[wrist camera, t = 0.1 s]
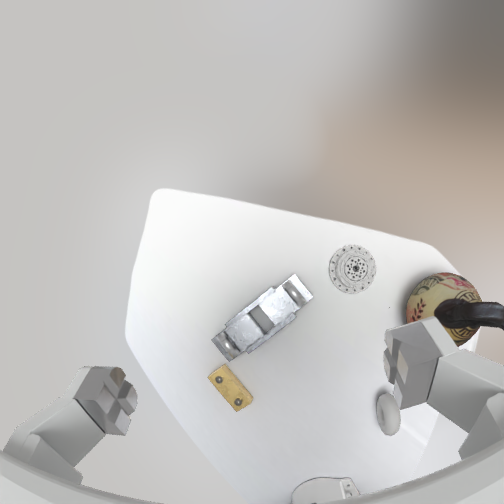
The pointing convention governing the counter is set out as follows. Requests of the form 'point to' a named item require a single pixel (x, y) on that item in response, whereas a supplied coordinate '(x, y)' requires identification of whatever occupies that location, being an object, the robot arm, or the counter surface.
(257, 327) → the linear slide rail
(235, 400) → the gold block with knob
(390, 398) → the donut
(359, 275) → the mechanical component
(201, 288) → the counter surface
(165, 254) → the counter surface
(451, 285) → the ceramic jug
